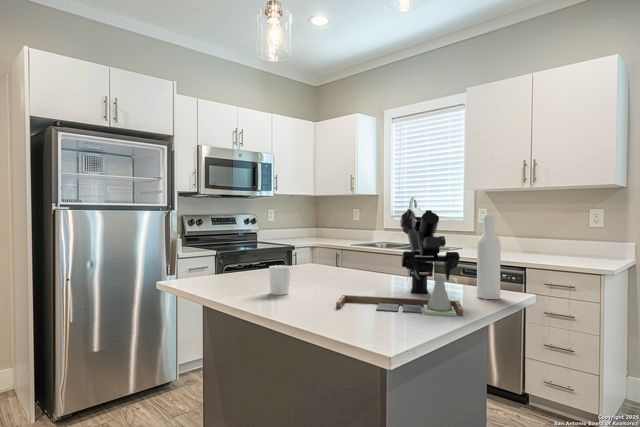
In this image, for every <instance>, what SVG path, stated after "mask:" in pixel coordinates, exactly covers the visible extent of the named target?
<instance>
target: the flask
mask: <svg viewBox="0 0 640 427" xmlns="http://www.w3.org/2000/svg"><path fill="white" fill-rule="evenodd" d="M433 278H434V285H433V290H432V292H431V295H430V296H429V299H430V300H429V302H428V304H427V308H429V309H432V310H438V311H447V310H451V309H452V306H451V304H450V301H449V300H450V299H449V296H448V293H447V289H446V286H445V279H446V276H444V275H433Z"/></svg>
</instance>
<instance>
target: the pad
mask: <svg viewBox="0 0 640 427" xmlns="http://www.w3.org/2000/svg"><path fill="white" fill-rule="evenodd" d="M423 312H424V315H432V316H451V317H456V316H457V311H456V308H454V307H453V306H452V309H451V310H447V311H438V310H432V309H429V308H427V305H424V306H423Z"/></svg>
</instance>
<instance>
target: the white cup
mask: <svg viewBox="0 0 640 427" xmlns="http://www.w3.org/2000/svg"><path fill="white" fill-rule="evenodd" d="M268 270H269V271H268V272H269V273H268V275H269V290H270V292H269V293H270V294H271V295H274V296H284V294H285V295H287V294H289V292H290V280H291V266H290V265H285V264H283V265H282V264H279V265H277V264H275V265H270V266H268Z"/></svg>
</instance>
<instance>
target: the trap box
mask: <svg viewBox="0 0 640 427" xmlns="http://www.w3.org/2000/svg"><path fill="white" fill-rule="evenodd" d="M429 300H430V298H412V297H411V298H409V297H395V296H394V297H393V296H392V297H391V296H390V297H389V296H373V295H372V296H371V295H370V296H369V295H355V294H354V295H350V294H349V295H348V294H342V295H341V296H340V297H339V299H338V300H336V302H335V303H336V305H335V309H337V310H338V309H339V310H340V309H342V307H343V305H344V304H345V303H347V302H348V303H363V304H364V303H365V304H377V307H376V311H379V312H392V313H393V312H397V313H398V312H399V307H400V305H401V306H402V313H410V314H411V313H412V314H422V307H424V305H427V304H428V302H429ZM449 301H450V304H451V306H453V307H454V309H455V312H456V314H457V315H458V316H459V317H463V316H464V309H463V306H462V305H461V302H460V300H454V299H453V300H450V299H449Z"/></svg>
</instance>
